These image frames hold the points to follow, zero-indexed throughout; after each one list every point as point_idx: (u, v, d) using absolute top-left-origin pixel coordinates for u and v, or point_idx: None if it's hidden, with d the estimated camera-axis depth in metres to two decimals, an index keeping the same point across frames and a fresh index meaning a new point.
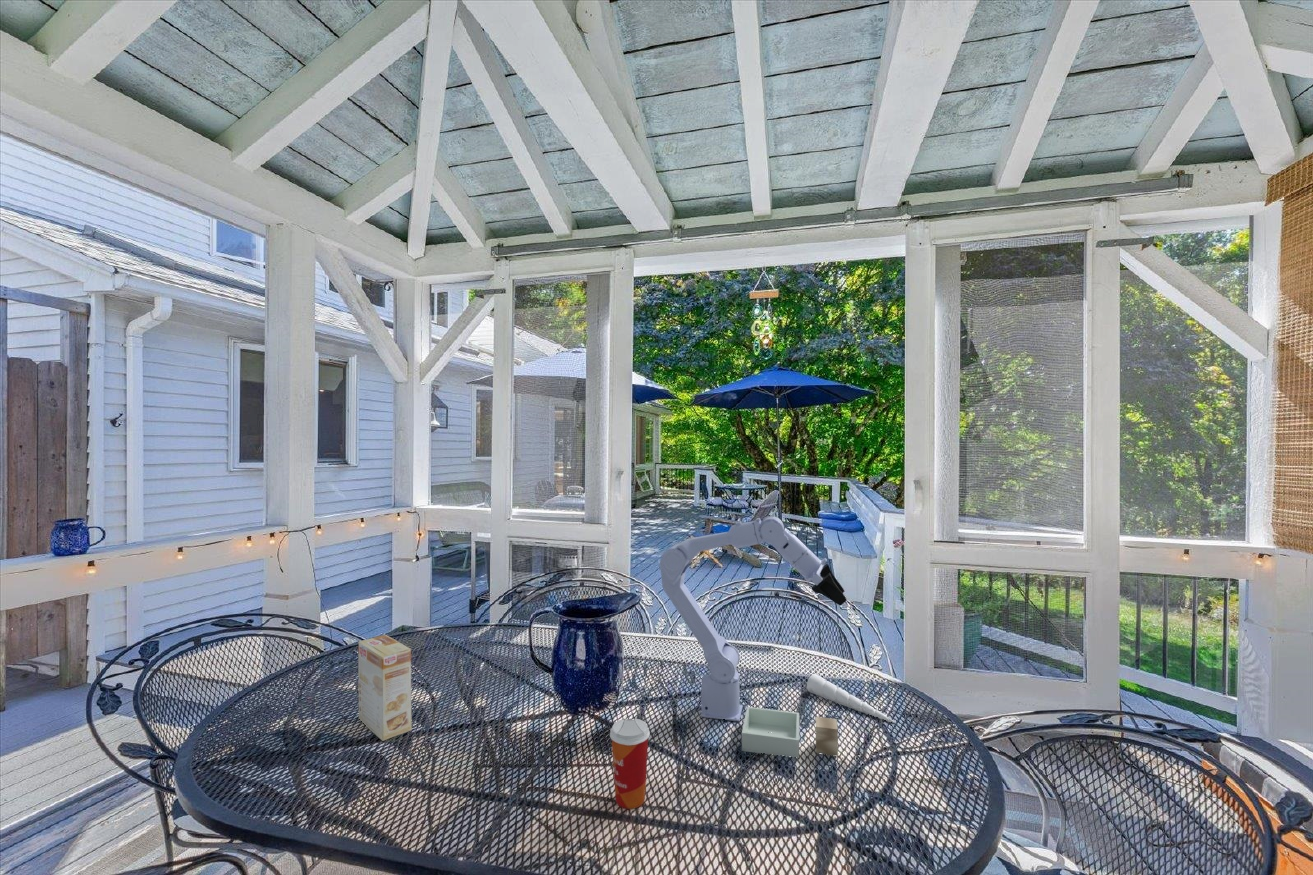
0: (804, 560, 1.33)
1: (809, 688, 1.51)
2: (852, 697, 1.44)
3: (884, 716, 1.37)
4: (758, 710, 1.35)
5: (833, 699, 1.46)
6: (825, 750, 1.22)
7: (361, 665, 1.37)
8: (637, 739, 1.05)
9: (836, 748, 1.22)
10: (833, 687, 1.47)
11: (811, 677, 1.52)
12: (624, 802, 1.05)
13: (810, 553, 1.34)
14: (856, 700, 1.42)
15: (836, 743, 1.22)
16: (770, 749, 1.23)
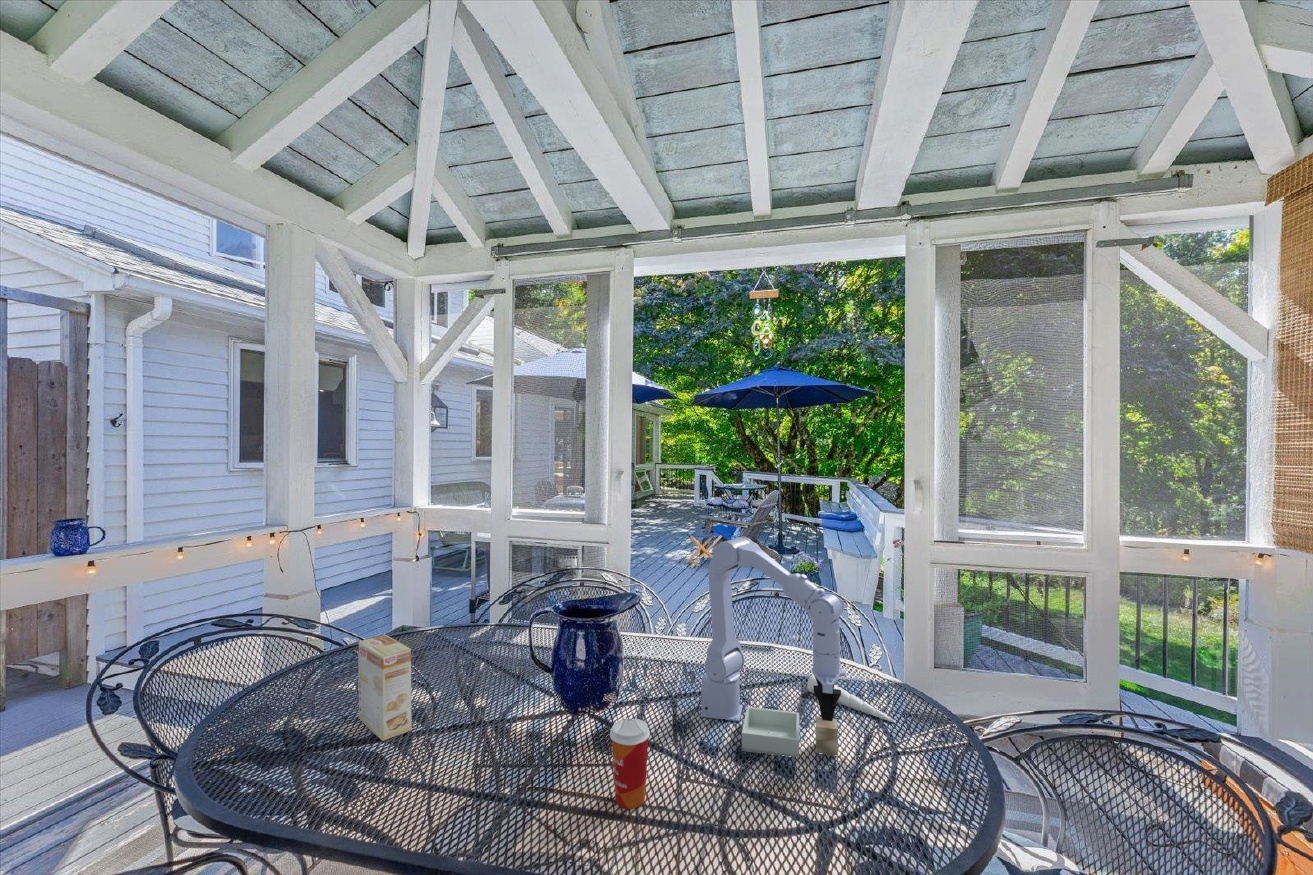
0: (829, 660, 1.22)
1: (809, 688, 1.51)
2: (852, 697, 1.43)
3: (885, 716, 1.37)
4: (758, 710, 1.35)
5: None
6: (825, 750, 1.22)
7: (361, 665, 1.37)
8: (637, 739, 1.05)
9: (836, 748, 1.22)
10: None
11: (811, 677, 1.52)
12: (624, 802, 1.05)
13: (838, 658, 1.22)
14: (856, 700, 1.42)
15: (836, 743, 1.22)
16: (770, 749, 1.23)
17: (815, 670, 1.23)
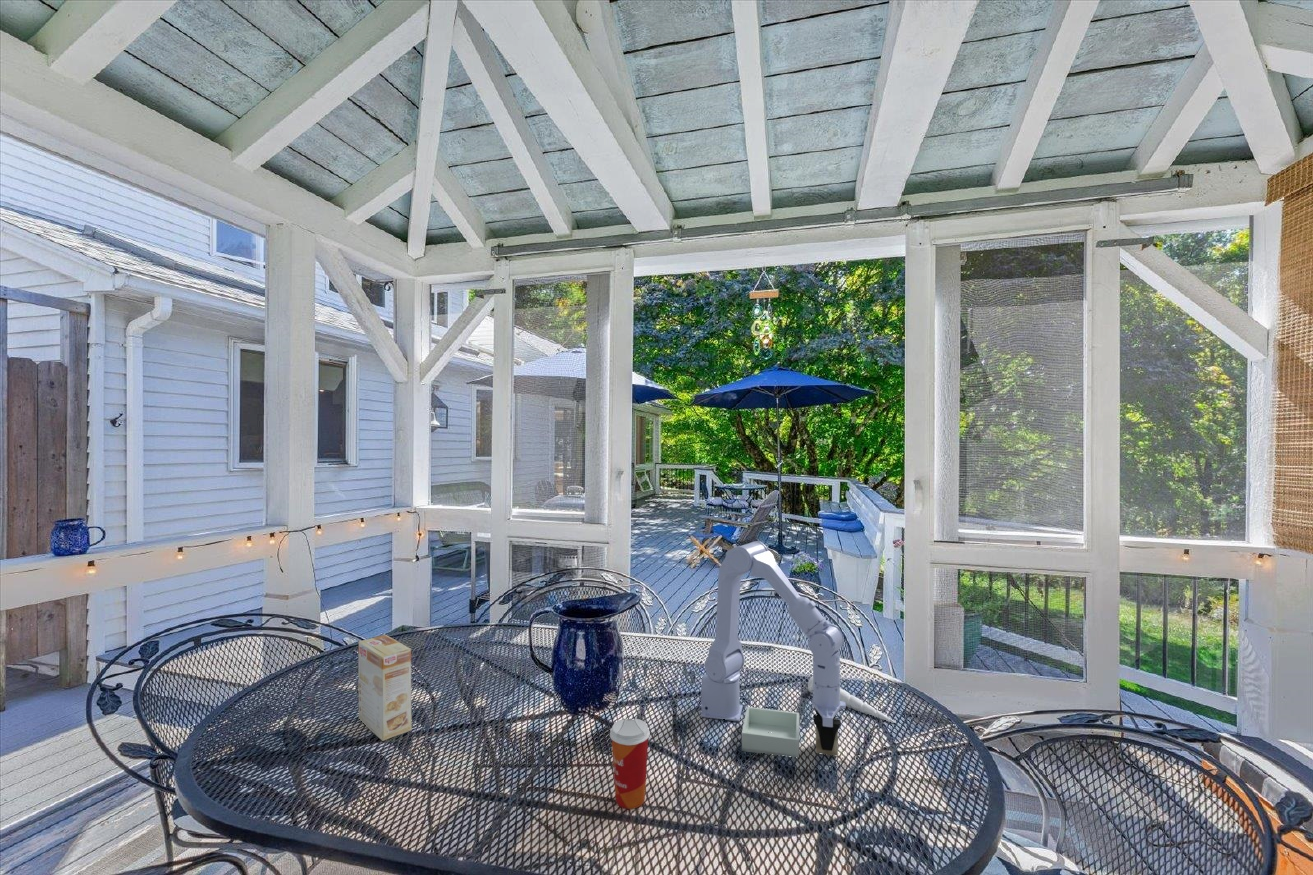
0: (829, 692, 1.22)
1: (810, 688, 1.51)
2: (853, 698, 1.43)
3: (885, 717, 1.37)
4: (758, 710, 1.35)
5: None
6: (825, 750, 1.22)
7: (361, 665, 1.37)
8: (637, 739, 1.05)
9: (836, 748, 1.22)
10: None
11: (812, 678, 1.52)
12: (624, 802, 1.05)
13: (838, 690, 1.22)
14: (857, 701, 1.42)
15: (836, 743, 1.22)
16: (770, 749, 1.23)
17: (815, 702, 1.23)
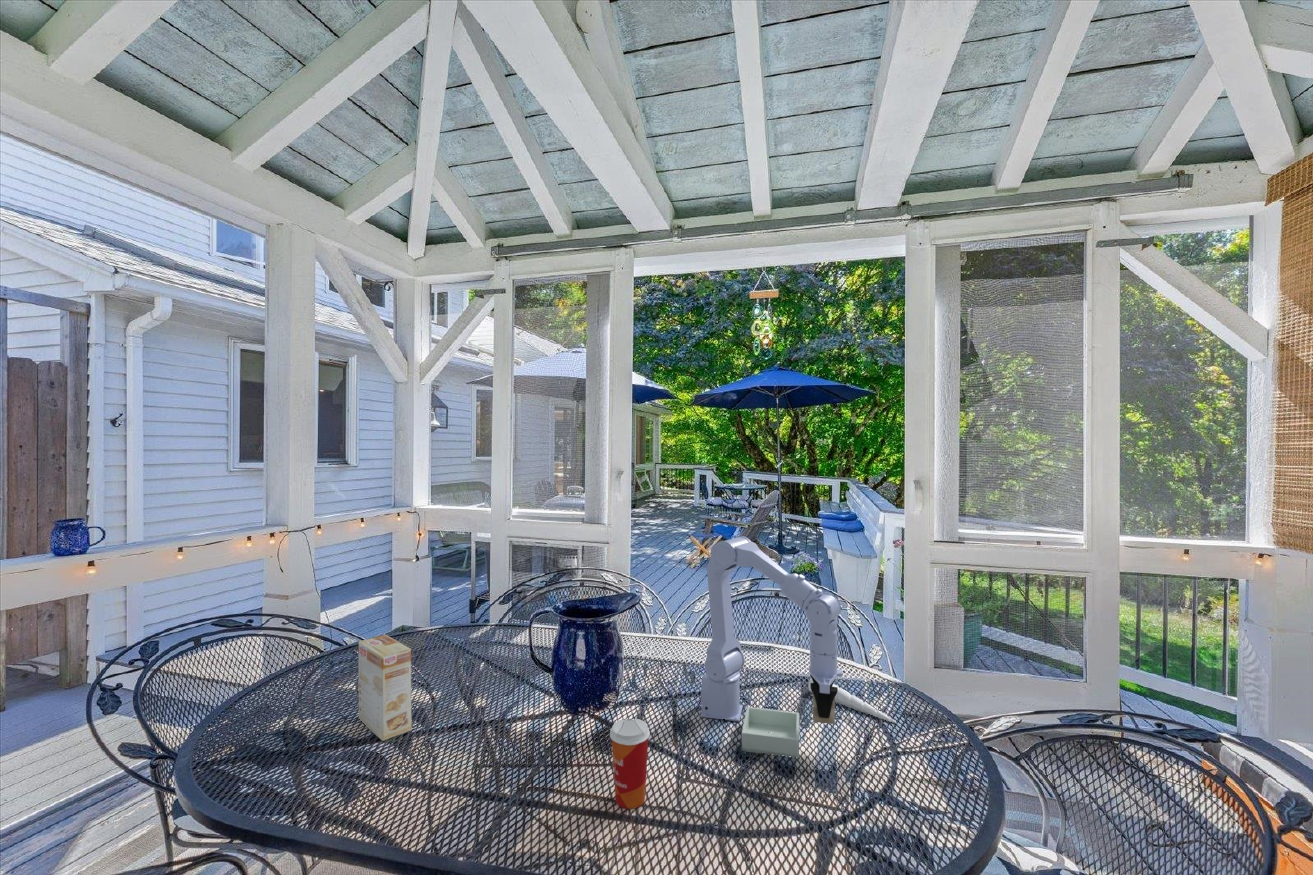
0: (826, 660, 1.22)
1: (810, 688, 1.51)
2: (854, 698, 1.43)
3: (886, 717, 1.37)
4: (758, 710, 1.35)
5: (835, 700, 1.46)
6: (822, 718, 1.23)
7: (361, 665, 1.37)
8: (637, 739, 1.05)
9: (833, 715, 1.22)
10: None
11: None
12: (624, 802, 1.05)
13: (835, 658, 1.23)
14: (858, 701, 1.42)
15: (833, 710, 1.22)
16: (770, 749, 1.23)
17: (812, 670, 1.24)
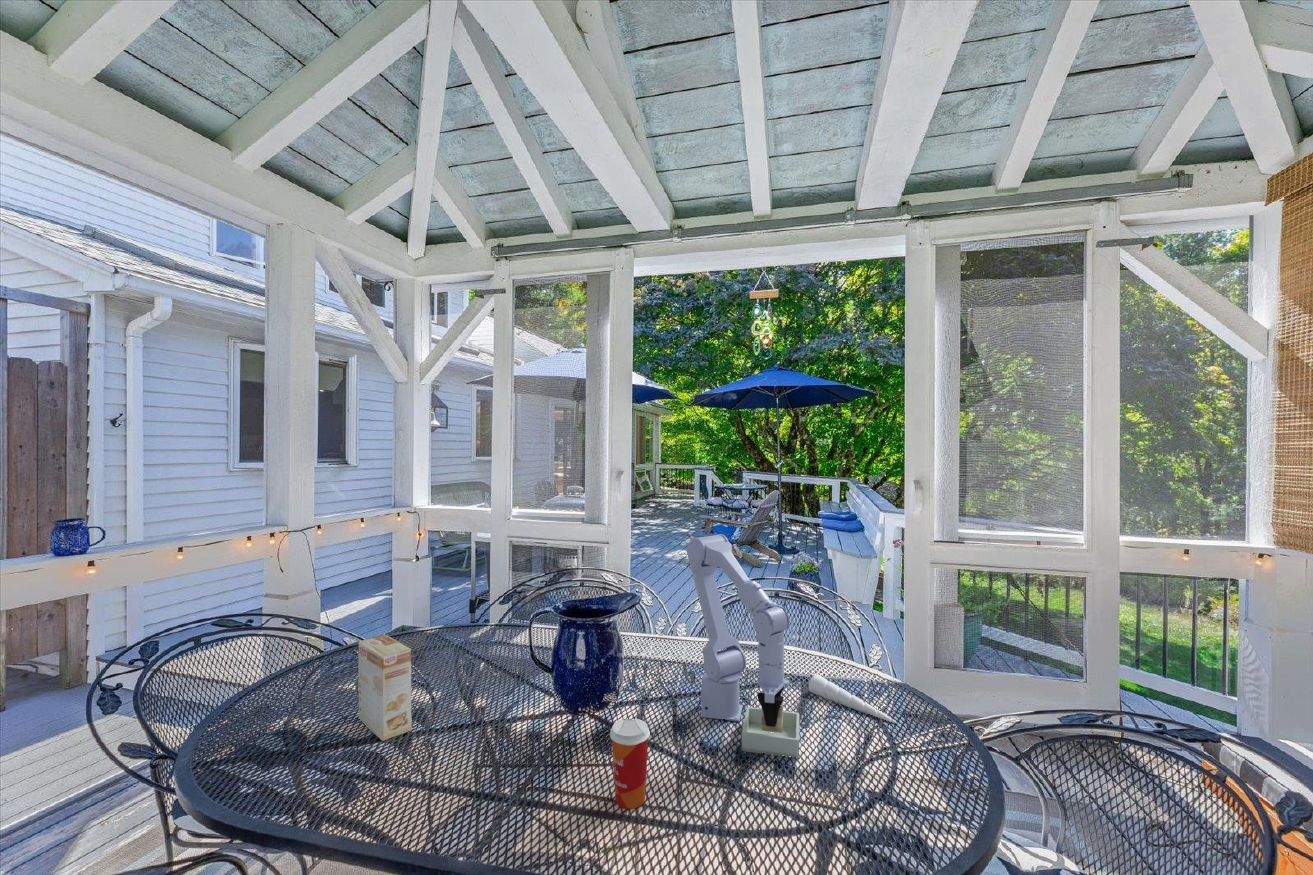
0: (773, 670, 1.26)
1: (811, 688, 1.51)
2: (854, 698, 1.43)
3: (886, 717, 1.37)
4: (758, 710, 1.35)
5: (835, 700, 1.46)
6: (770, 726, 1.26)
7: (361, 665, 1.37)
8: (637, 739, 1.05)
9: (780, 724, 1.26)
10: (835, 688, 1.47)
11: (813, 678, 1.51)
12: (624, 802, 1.05)
13: (782, 668, 1.26)
14: (858, 701, 1.42)
15: (780, 719, 1.26)
16: (770, 749, 1.23)
17: (760, 680, 1.27)
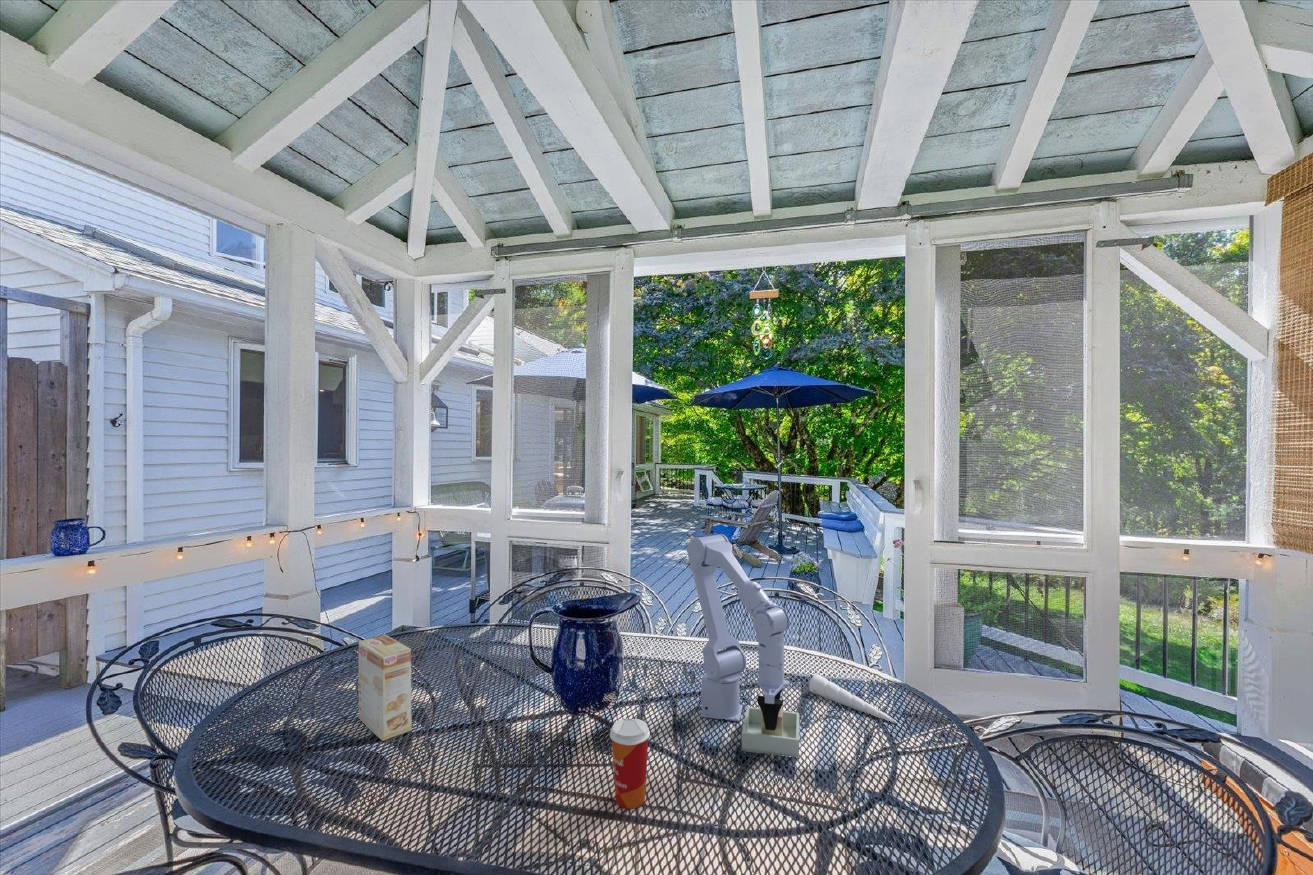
0: (773, 671, 1.26)
1: (811, 688, 1.51)
2: (855, 697, 1.43)
3: (887, 717, 1.37)
4: (758, 710, 1.35)
5: (836, 700, 1.46)
6: None
7: (361, 665, 1.37)
8: (637, 739, 1.05)
9: (780, 735, 1.26)
10: (836, 687, 1.47)
11: (813, 677, 1.51)
12: (624, 802, 1.05)
13: (782, 669, 1.26)
14: (859, 701, 1.42)
15: (780, 731, 1.26)
16: (770, 749, 1.23)
17: (760, 681, 1.27)
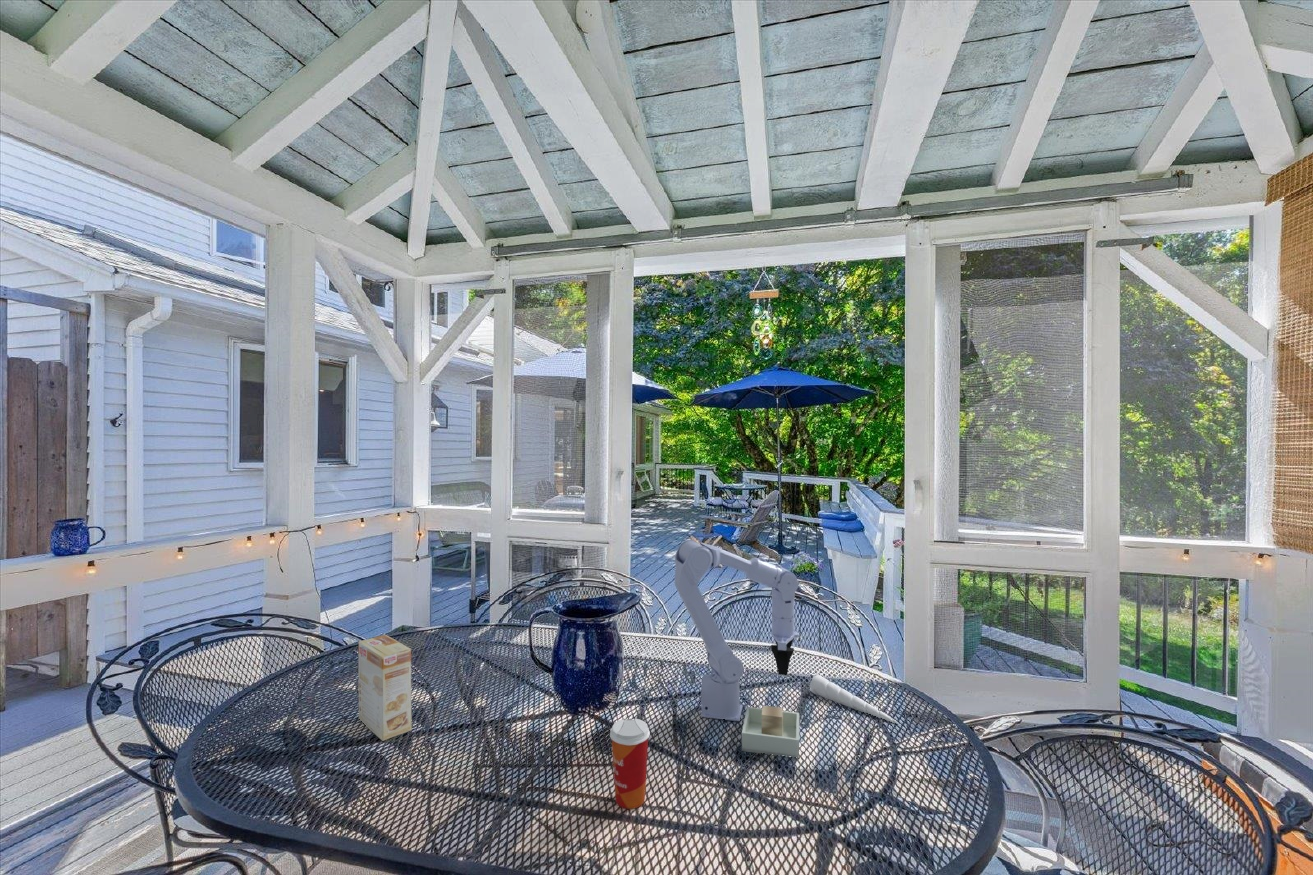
0: (784, 623, 1.42)
1: (812, 689, 1.51)
2: (855, 698, 1.43)
3: (888, 717, 1.37)
4: (758, 710, 1.35)
5: (836, 700, 1.46)
6: None
7: (361, 665, 1.37)
8: (637, 739, 1.05)
9: (780, 735, 1.26)
10: (836, 688, 1.47)
11: (814, 678, 1.51)
12: (624, 802, 1.05)
13: (792, 622, 1.43)
14: (860, 701, 1.42)
15: (780, 731, 1.26)
16: (770, 749, 1.23)
17: (773, 632, 1.44)
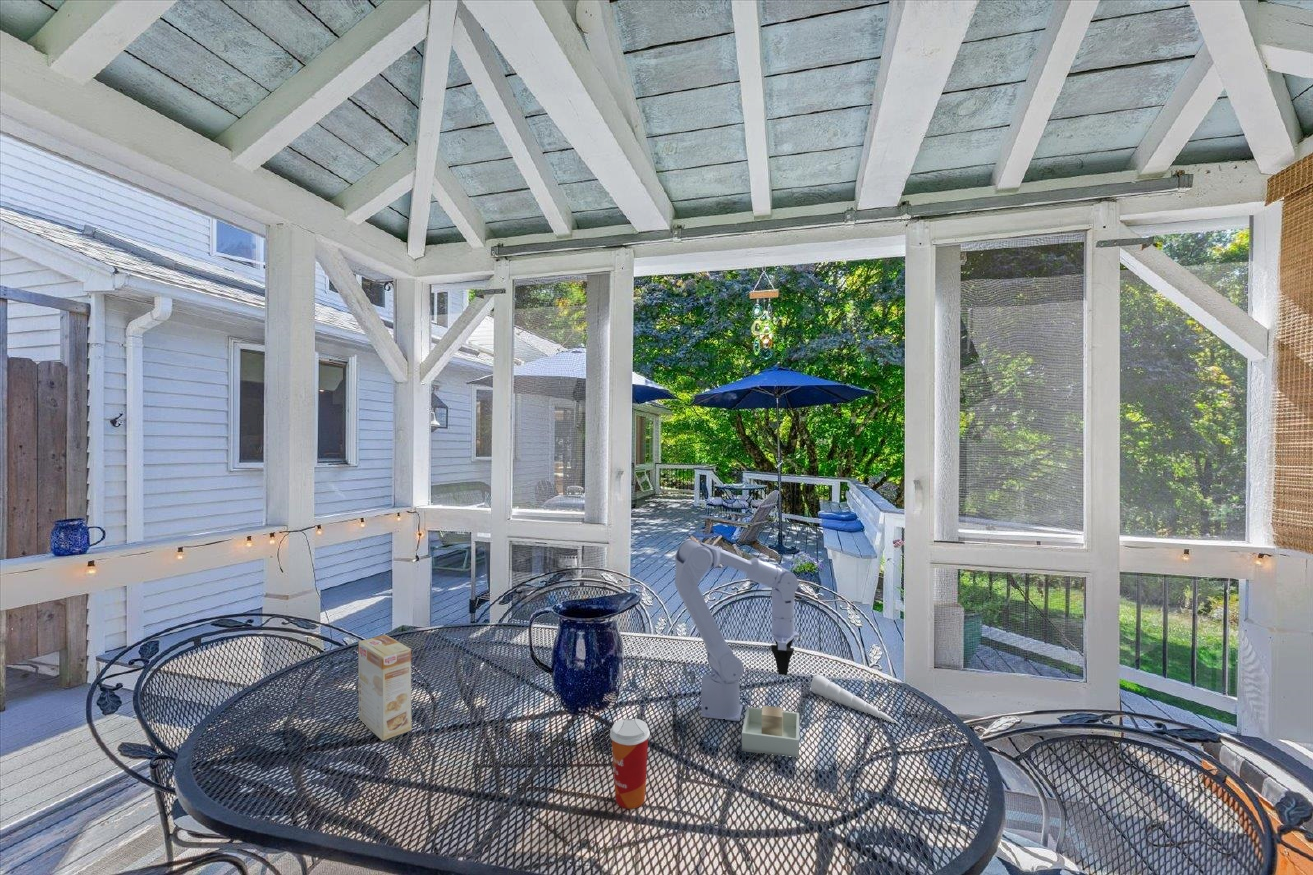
0: (784, 623, 1.42)
1: (812, 689, 1.51)
2: (856, 698, 1.43)
3: (888, 717, 1.36)
4: (758, 710, 1.35)
5: (837, 700, 1.46)
6: None
7: (361, 665, 1.37)
8: (637, 739, 1.05)
9: (780, 735, 1.26)
10: (837, 688, 1.47)
11: (815, 678, 1.51)
12: (624, 802, 1.05)
13: (792, 622, 1.43)
14: (860, 701, 1.42)
15: (780, 731, 1.26)
16: (770, 749, 1.23)
17: (773, 632, 1.44)
